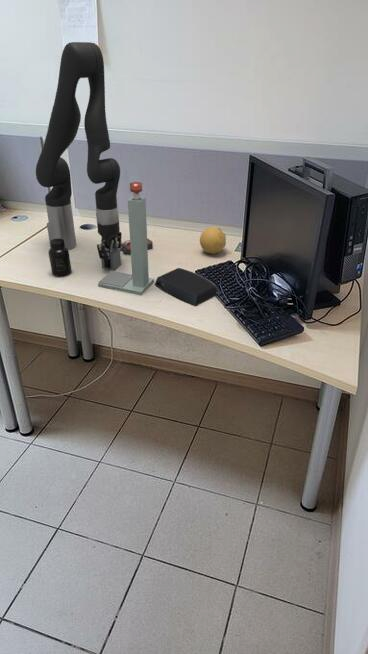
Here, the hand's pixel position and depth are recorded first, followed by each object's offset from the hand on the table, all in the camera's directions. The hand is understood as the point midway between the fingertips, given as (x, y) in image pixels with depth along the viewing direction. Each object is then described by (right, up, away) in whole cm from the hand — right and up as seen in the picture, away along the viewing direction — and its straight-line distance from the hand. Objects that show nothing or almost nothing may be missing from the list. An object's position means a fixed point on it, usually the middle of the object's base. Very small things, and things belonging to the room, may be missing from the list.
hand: (111, 264), depth 171 cm
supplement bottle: (-17, -4, -4) cm, 18 cm away
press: (+6, -8, -10) cm, 14 cm away
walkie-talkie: (+5, +7, +13) cm, 15 cm away
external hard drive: (+27, -11, -13) cm, 32 cm away
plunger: (+12, +13, -27) cm, 33 cm away
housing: (0, -1, 0) cm, 1 cm away
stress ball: (+37, +6, +11) cm, 39 cm away
